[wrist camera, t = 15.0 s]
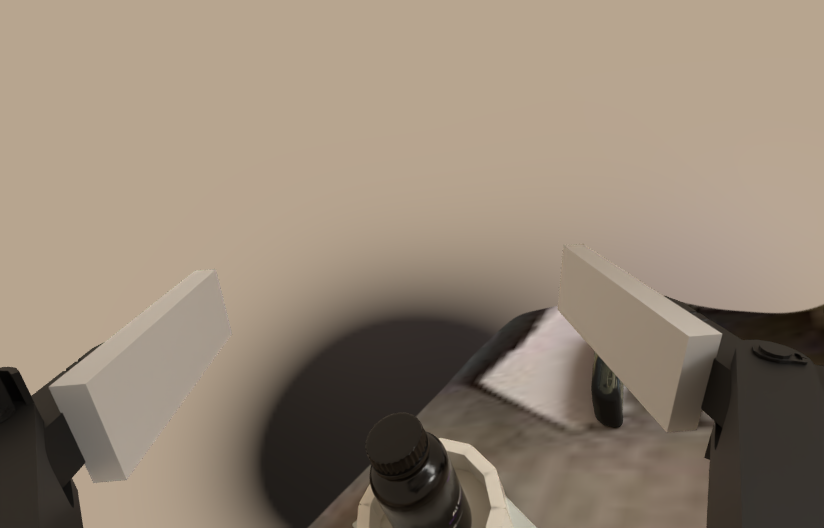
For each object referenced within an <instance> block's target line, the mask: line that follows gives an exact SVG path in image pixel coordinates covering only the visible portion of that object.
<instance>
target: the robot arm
mask: <svg viewBox="0 0 824 528" xmlns="http://www.w3.org/2000/svg"><path fill="white" fill-rule="evenodd" d="M558 310H559V312H560V313H561V314H562V315H563V316H564V317H565V318H566V319H567V321H568V322H569V323H570V324H571V325H572V326H573V327H574V329H575V330H576V331H577V332H578V333H579V334H580V335H581V336H582V338H583V339H584V340H585V341H586V342H587V343H588V344H589V345H590V347H591V348H592V349H593V350H594V351H595V352H596V353H597V354H598V356H599V357H600V358H601V359H602V360H603V361H604V362H605V363H606V365H607V366H608V367H609V368H610V369H611V370H612V371H613V372H614V374H615V375H616V376H617V377H618V378H619V379H620V380H621V382H622V383H623V384H624V385H625V386H626V387H627V388H628V389H629V391H630V392H631V393H632V394H633V395H634V396H635V397H636V398H637V400H638V401H639V402H640V403H641V404H642V405H643V406H644V407H645V409H646V410H647V411H648V412H649V413H650V414H651V415H652V416H653V418H654V419H655V420H656V421H657V422H658V423H659V424H660V425H661V427H662V428H663V429H664V430H665V431H666V432H667V433H669V432H680V431H692V430H697V427H698V423H699V420H700V416H701V412H702V410H703V411H704V412H705V413H707V414H708V415H709V416H710V417H711V418H712V419H713V420H714V421H715V422H714V426H713V429H712V433H711V436H710V440H709V443H708V447H707V450H706V454H705V457H704V458H706V459H709V460H710V469H709V489H708V509H707V528H824V366H821V365H814V363H813V362H812V361H811V360H810V358H808V357H807V356H805V355H804V354H802V353H801V352H799V351H797V350H794V349H792V348H790V347H787V346H785V345H781V344H778V343H774V342H770V341H763V340H744V341H743V340H742V339H740V338H739V337H737V336H735V335H734V334H732V333H731V332H729V331H727V330H726V329H724V328H723V327H721V326H719V325H718V324H716V323H715V322H713V321H711V320H708V318H707V317H705V316H703V315H702V314H700V313H697V311H695V310H694V309H692V308H691V307H689V306H687V305H686V304H684V303H683V302H680V301H677V300H675V299H672V298H669V297H667V296H663V295H661V294H660V293H658V292H656V291H655V290H654V289H652V288H650V287H649V286H647V285H646V284H644V283H643V282H641V281H640V280H638V279H636V278H635V277H633V276H632V275H630V274H629V273H627V272H626V271H624V270H623V269H621V268H619V267H618V266H616V265H615V264H613V263H612V262H610V261H609V260H607V259H605V258H604V257H602V256H601V255H599V254H598V253H596V252H595V251H593V250H592V249H590V248H588V247H587V246H585V245H584V244H576V245H564V246H563V256H562V267H561V278H560V289H559V300H558ZM231 334H232V332H231V328H230V324H229V320H228V316H227V312H226V308H225V304H224V300H223V296H222V292H221V288H220V284H219V280H218V276H217V272H216V270H215V269H212V270H198V271H194V272H193V273H191V274H190V275H189V276H188V277H186V278H185V279H184V280H183V281H181V282H180V283H179V284H178V285H176V286H175V287H174V288H173V289H171V290H170V291H169V292H168V293H166V294H165V295H164V296H162V297H161V298H160V299H159V300H157V301H156V302H155V303H154V304H152V305H151V306H150V307H148V308H147V309H146V310H145V311H143V312H142V313H141V314H140V315H139V316H137V317H136V318H135V319H133V320H132V321H131V322H130V323H128V324H127V325H126V326H125V327H123V328H122V329H121V330H119V331H118V332H117V333H116V334H114V335H113V336H112V337H111V338H110V339H108V340H107V341H106V342H104V343H102V344H100V345H98V346H96V347H94V348H92V349H91V350H90V351H89V352H87V353H86V354H85V355H83V356H82V357H81V358H79V359H78V362H75V363H73V364H72V365H71V366H69V367H68V368H67V369H66V371H63V372H62V373H60V374H59V375H58V376H56V377H55V378H54V379H53V380H51V381H50V382H49V383H48V384H46V385H45V386H44V387H42V388H41V389H40V390H38V391H37V392H36V393H35V394H33V395H32V396H31V395H30V393H29V391H28V389H27V387H26V385H25V383H24V381H23V379H22V376H21V375H20V372H19V371H18V370H17V368H13V367H2V368H0V528H83V523H82V517H81V510H80V504H79V497H78V490H77V488H76V486H75V484H74V482H73V480H72V477H73V476H74V475H75V474H76V473H77V471H78V470H79V469H80V468H81V467H82V466H83V465H84V464H85V466H86V468H87V470H88V472H89V475H90V476H91V479H92V481H93V483H97V482H109V481H121V480H127V479H128V477H129V476H130V475H131V473H132V472H133V471H134V469H135V468H136V466H137V465H138V464H139V462H140V461H141V459H142V458H143V457H144V455H145V454H146V452H147V451H148V450H149V448H150V447H151V446H152V444H153V443H154V441H155V440H156V439H157V437H158V436H159V434H160V433H161V432H162V430H163V429H164V427H165V426H166V425H167V423H168V422H169V421H170V419H171V418H172V416H173V415H174V414H175V412H176V411H177V409H178V408H179V407H180V405H181V404H182V402H183V401H184V400H185V398H186V397H187V396H188V394H189V393H190V391H191V390H192V389H193V387H194V386H195V385H196V383H197V382H198V380H199V379H200V378H201V376H202V375H203V373H204V372H205V371H206V369H207V368H208V366H209V365H210V364H211V362H212V361H213V360H214V358H215V357H216V355H217V354H218V352H219V351H220V350H221V348H222V347H223V346H224V344H225V343H226V341H227V340H228V339H229V337H230V336H231Z"/></svg>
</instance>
